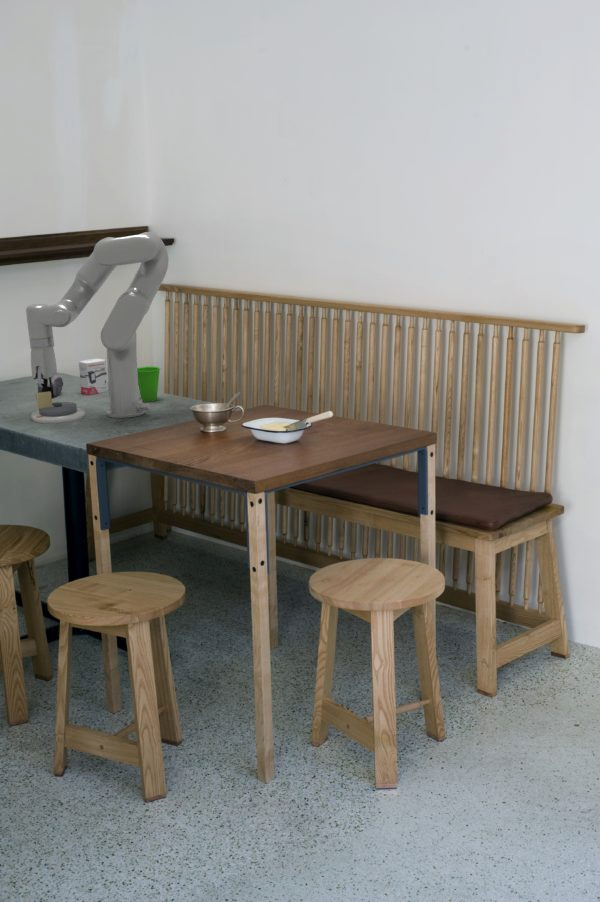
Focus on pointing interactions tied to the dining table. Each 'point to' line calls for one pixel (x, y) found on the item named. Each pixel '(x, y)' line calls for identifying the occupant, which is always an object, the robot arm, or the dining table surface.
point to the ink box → (93, 376)
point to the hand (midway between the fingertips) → (48, 398)
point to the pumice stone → (54, 386)
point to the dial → (53, 405)
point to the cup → (148, 382)
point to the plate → (58, 417)
